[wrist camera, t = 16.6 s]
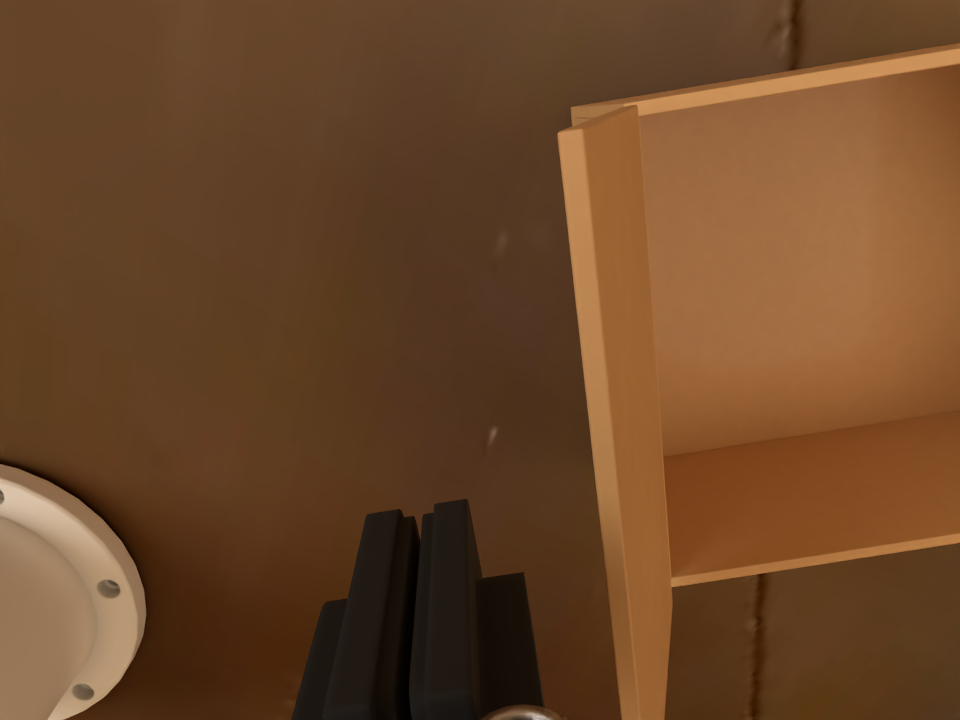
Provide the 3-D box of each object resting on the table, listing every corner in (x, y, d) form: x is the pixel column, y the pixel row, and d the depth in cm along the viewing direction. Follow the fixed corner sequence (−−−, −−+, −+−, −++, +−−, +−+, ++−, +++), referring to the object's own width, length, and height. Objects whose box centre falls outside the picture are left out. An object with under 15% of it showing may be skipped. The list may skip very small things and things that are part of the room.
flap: (672, 603, 20) (660, 602, 20) (637, 104, 15) (621, 106, 15) (654, 857, 13) (636, 854, 13) (583, 127, 9) (555, 132, 9)
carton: (607, 468, 27) (661, 589, 20) (570, 107, 22) (623, 103, 16) (974, 411, 27) (1155, 513, 20) (1013, 34, 22) (1267, -3, 15)
